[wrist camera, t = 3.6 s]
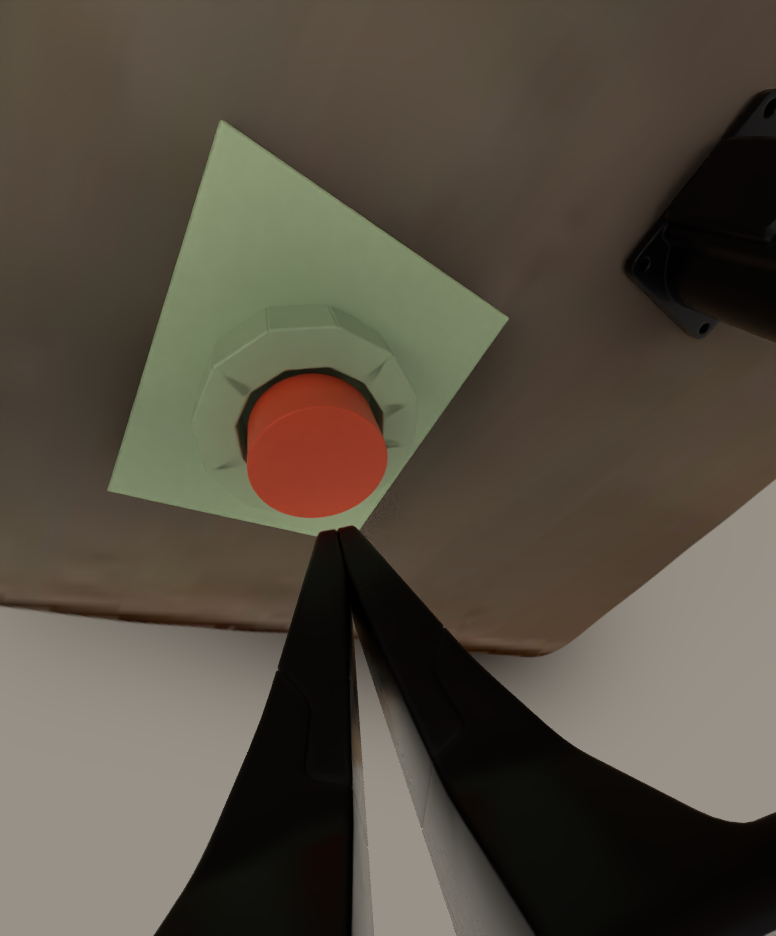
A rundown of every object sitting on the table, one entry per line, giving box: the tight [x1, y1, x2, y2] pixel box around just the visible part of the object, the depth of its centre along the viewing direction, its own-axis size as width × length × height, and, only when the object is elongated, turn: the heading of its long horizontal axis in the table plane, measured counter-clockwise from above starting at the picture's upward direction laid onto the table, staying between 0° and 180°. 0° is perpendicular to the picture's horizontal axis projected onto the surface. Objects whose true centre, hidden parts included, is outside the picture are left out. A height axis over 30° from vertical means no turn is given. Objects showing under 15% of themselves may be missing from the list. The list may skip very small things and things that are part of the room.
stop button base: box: [108, 120, 509, 536], centre depth 14 cm, size 10×12×4 cm
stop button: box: [247, 373, 388, 518], centre depth 12 cm, size 4×4×2 cm
